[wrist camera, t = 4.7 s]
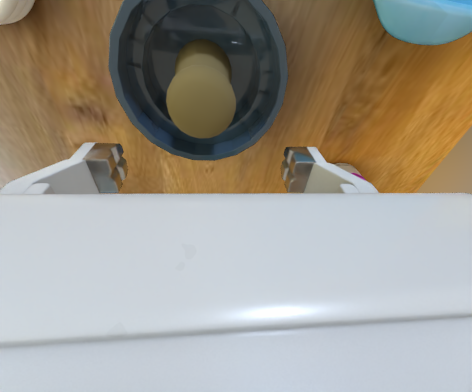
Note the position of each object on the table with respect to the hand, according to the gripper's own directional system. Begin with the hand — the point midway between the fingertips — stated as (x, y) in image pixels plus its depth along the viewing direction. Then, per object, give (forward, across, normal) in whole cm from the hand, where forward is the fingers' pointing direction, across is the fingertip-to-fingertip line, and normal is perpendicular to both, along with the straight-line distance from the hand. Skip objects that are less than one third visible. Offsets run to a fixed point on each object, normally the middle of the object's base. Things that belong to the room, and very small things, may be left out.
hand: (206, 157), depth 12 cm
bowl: (+17, +1, 0) cm, 17 cm away
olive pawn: (+17, +1, 0) cm, 17 cm away
